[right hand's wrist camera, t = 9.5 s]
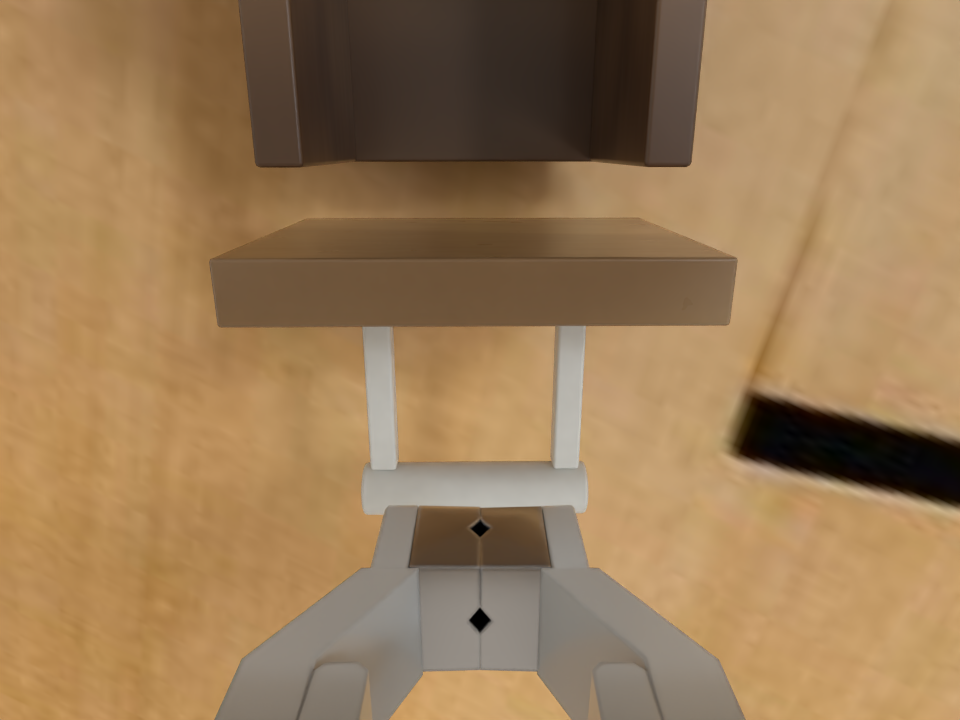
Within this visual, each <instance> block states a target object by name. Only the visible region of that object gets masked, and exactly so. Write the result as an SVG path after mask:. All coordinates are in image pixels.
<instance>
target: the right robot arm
mask: <svg viewBox="0 0 960 720" xmlns="http://www.w3.org/2000/svg"><path fill="white" fill-rule="evenodd" d="M456 670H503V671H537V674H538V676H539V677H540V678H541V680H542V681H543V682H544V684H545V685H546V686H547V688H548V689H549V690H550V692H551V693H552V694H553V696H554V697H555V698H556V700H557V701H558V702H559V704H560V705H561V706H562V708H563V709H564V710H565V712H566V713H567V714H568V716H569V717H570V718H571V720H746V719H745V717H744V715H743V713H742V710H741V708H740V706H739V704H738V702H737V699H736V697H735V695H734V693H733V690H732V688H731V686H730V684H729V681H728V679H727V677H726V675H725V672H724V670H723V668H722V666H721V663H720V661H719V660H718V659H717V658H716V657H714V656H713V655H712V654H711V653H709V652H708V651H707V650H705V649H704V648H703V647H701V646H700V645H699V644H697V643H696V642H695V641H694V640H692V639H691V638H690V637H688V636H687V635H686V634H684V633H683V632H682V631H680V630H679V629H678V628H677V627H675V626H674V625H673V624H671V623H670V622H669V621H667V620H666V619H665V618H663V617H662V616H661V615H659V614H658V613H657V612H656V611H654V610H653V609H652V608H650V607H649V606H648V605H646V604H645V603H644V602H642V601H641V600H640V599H639V598H637V597H636V596H635V595H633V594H632V593H631V592H629V591H628V590H627V589H625V588H624V587H623V586H622V585H620V584H619V583H618V582H616V581H615V580H614V579H612V578H611V577H610V576H608V575H607V574H606V573H605V572H603V571H602V570H601V569H599V568H589V564H588V560H587V556H586V552H585V548H584V544H583V540H582V536H581V532H580V528H579V524H578V520H577V516H576V512H575V508H574V507H573V506H572V505H554V506H530V507H491V508H480V507H469V506H419V507H418V506H417V505H389V506H388V507H387V508H386V509H385V511H384V515H383V519H382V523H381V527H380V531H379V535H378V539H377V543H376V548H375V552H374V556H373V560H372V564H371V568H361V569H359V570H358V571H357V572H355V573H354V574H353V575H352V576H350V577H349V578H348V579H346V580H345V581H344V582H342V583H341V584H340V585H338V586H337V587H336V588H334V589H333V590H332V591H331V592H329V593H328V594H327V595H325V596H324V597H323V598H321V599H320V600H319V601H317V602H316V603H315V604H313V605H312V606H311V607H309V608H308V609H307V610H306V611H304V612H303V613H302V614H300V615H299V616H298V617H296V618H295V619H294V620H292V621H291V622H290V623H288V624H287V625H286V626H284V627H283V628H282V629H281V630H279V631H278V632H277V633H275V634H274V635H273V636H271V637H270V638H269V639H267V640H266V641H265V642H263V643H262V644H261V645H260V646H258V647H257V648H256V649H254V650H253V651H252V652H250V653H249V654H248V655H246V656H245V657H244V658H242V660H241V662H240V664H239V666H238V669H237V671H236V673H235V675H234V677H233V680H232V682H231V684H230V686H229V688H228V691H227V693H226V695H225V697H224V700H223V702H222V704H221V706H220V708H219V711H218V713H217V715H216V717H215V719H214V720H389V719H390V717H391V716H392V715H393V713H394V712H395V711H396V709H397V708H398V707H399V706H400V704H401V703H402V702H403V700H404V699H405V698H406V696H407V695H408V694H409V692H410V691H411V690H412V688H413V687H414V686H415V684H416V683H417V682H418V680H419V679H420V678H421V677H422V675H423V671H456Z"/></svg>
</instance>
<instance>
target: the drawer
mask: <svg viewBox="0 0 960 720" xmlns="http://www.w3.org/2000/svg"><path fill="white" fill-rule="evenodd" d="M238 3H239V12H240V22H241V31H242V41H243V50H244V60H245V70H246V79H247V89H248V98H249V108H250V117H251V127H252V136H253V146H254V155H255V163H256V165H257V166H258V167H308V166H318V165H327V164H337V163H346V162H520V161H593V162H603V163H613V164H623V165H633V166H643V167H687V166H689V165H690V164H691V161H692V151H693V141H694V130H695V120H696V110H697V99H698V89H699V79H700V69H701V58H702V48H703V38H704V28H705V17H706V7H707V0H238ZM209 263H210V270H211V278H212V286H213V293H214V301H215V308H216V316H217V323H218V326H219V327H222V328H223V327H362V330H363V347H364V364H365V380H366V397H367V414H368V430H369V447H370V462H368V463H366V464H365V467H364V470H363V475H362V485H361V499H362V507H363V511H364V513H365V514H367V515H384V511H385V509H386V508H387V507H388V506H389V505H417V506H418V507H419V506H469V507H480V508H491V507H530V506H554V505H572V506H573V507H574V508H575V512H576V513H584V512H585V511H586V508H587V504H588V478H587V471H586V467H585V465H584V463H583V462H582V461H579V449H580V430H581V411H582V392H583V373H584V354H585V335H586V326H707V325H729V323H730V316H731V308H732V300H733V292H734V284H735V276H736V268H737V258H736V257H733V256H731V255H728V254H726V253H723V252H721V251H719V250H716V249H714V248H711V247H709V246H706V245H704V244H701V243H699V242H696V241H694V240H692V239H689V238H687V237H684V236H682V235H679V234H677V233H674V232H672V231H670V230H667V229H665V228H662V227H660V226H657V225H655V224H652V223H650V222H647V221H645V220H643V219H640V218H314V219H305V220H303V221H300V222H298V223H295V224H293V225H291V226H288V227H286V228H284V229H281V230H279V231H276V232H274V233H272V234H269V235H267V236H265V237H262V238H260V239H257V240H255V241H253V242H250V243H248V244H246V245H243V246H241V247H238V248H236V249H234V250H231V251H229V252H227V253H224V254H222V255H219V256H217V257H215V258H212V259H210V262H209ZM465 326H555V348H554V375H553V402H552V429H551V456H550V457H551V461H486V462H398V459H399V450H398V427H397V405H396V382H395V360H394V337H393V327H465Z"/></svg>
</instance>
